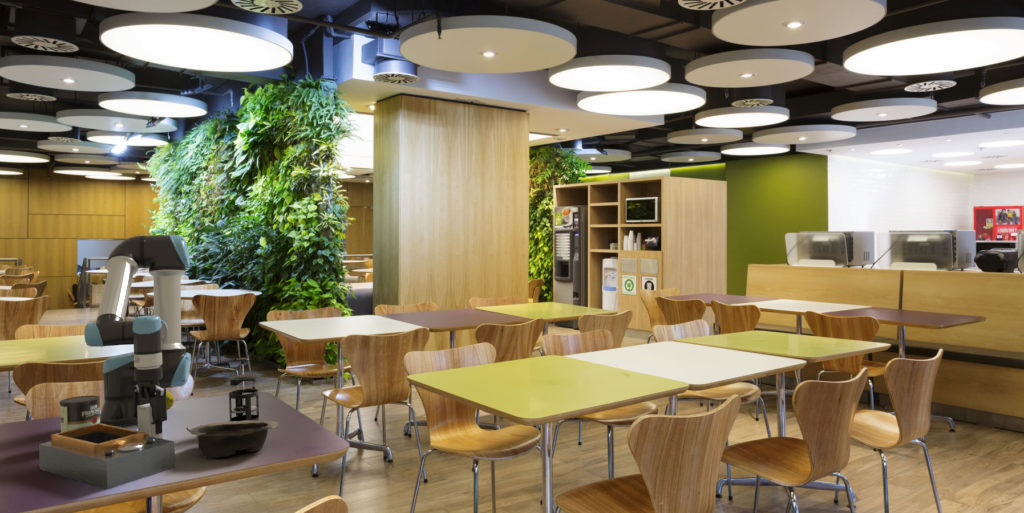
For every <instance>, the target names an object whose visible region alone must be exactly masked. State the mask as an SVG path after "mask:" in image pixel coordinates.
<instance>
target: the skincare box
mask: <svg viewBox="0 0 1024 513" xmlns="http://www.w3.org/2000/svg"><path fill="white" fill-rule="evenodd" d="M137 413H138V424H137V431H141V432H145V435H146V436H151V437H152V424H151V423H152V422H153V417H152V407H150V404H149V403H148V404H143V405H138V406H137ZM162 439H164V437H163V432H162Z"/></svg>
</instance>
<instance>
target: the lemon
mask: <svg viewBox="0 0 1024 513" xmlns="http://www.w3.org/2000/svg"><path fill="white" fill-rule="evenodd" d="M155 398H156V397H155ZM174 403H175V399H174V396H173V394H172V393H171V392H169V391H168V390H166V409H167V411H168V410H170V409H171V408H172V406H173V405H174Z"/></svg>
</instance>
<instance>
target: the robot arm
mask: <svg viewBox="0 0 1024 513" xmlns="http://www.w3.org/2000/svg"><path fill="white" fill-rule="evenodd" d="M190 263H191V262H190V254H189V248H188V244H187V240H186V238H185V237H184V236H183V235H177V234H176V235H175V234H163V235H161V234H160V235H156V234H154V235H134V236H131V237H128V238H126V239H125V240H123V241H121V242H120V243H119V244H117V245H116V246H115V247H114V248H113V250H112V251H111V252H110V254H109V255H108V256H107V261H106V265H105V266H106V267H105V268H106V270H107V275H106V280H105V284H104V288H103V290H102V291H103V292H102V296H101V300H100V303H99V308H98V312H97V317H96V319H95V321H93V322H88V323H86V325H85V326H84V335H83V336H84V341H85V342H84V343H86V345H87V346H88V347H90V348H91V347H92V348H93V347H95V348H96V347H101V348H102V347H111V346H114V347H115V346H129V345H130V346H131V345H133V352H127V353H122V354H119V355H114V356H110V357H108V358H106V359H105V360H104V361H103V364H102V365H103V369H102V375H103V376H102V377H103V378H102V379H103V397H104V398H103V404H102V408H101V409H100V423H102V424H106V425H111V426H116V427H121V428H122V427H126V426H127V427H128V426H133V425H138V413H137V406H138V405H143V404H148V403H149V404H150V407H152V417H153V422H152V423H151V424H152V437H156V438H160V439H162V433H163V422H165V421H167V420H168V412H167V411H168V410H167V409H166V391H167V388H168V389H173V388H178V387H180V388H181V387H183V386H185V385H186V384H187V383H188V380H189V375H190V371H191V370H190V369H191V365H192V364H191V362H192V355H191V353H189V352H187V347H186V346H184V345H183V344H182V306H181V305H182V299H181V298H182V297H181V296H182V294H181V293H182V289H181V288H182V287H181V286H182V285H181V282H182V281H181V280H182V279H181V278H182V276H183V275H184V274H185V273H186V269H187V268H190V266H191V264H190ZM139 269H148V274H149V275H150V276H151V277H152V278H153V315H141V316H135V317H134V318H133V320H125V318H126V313H127V308H128V305H129V299H130V294H131V290H132V285H133V284H132V283H133V279H134V275H136V274H137V272H138V271H139ZM155 397H156V398H155Z"/></svg>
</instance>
